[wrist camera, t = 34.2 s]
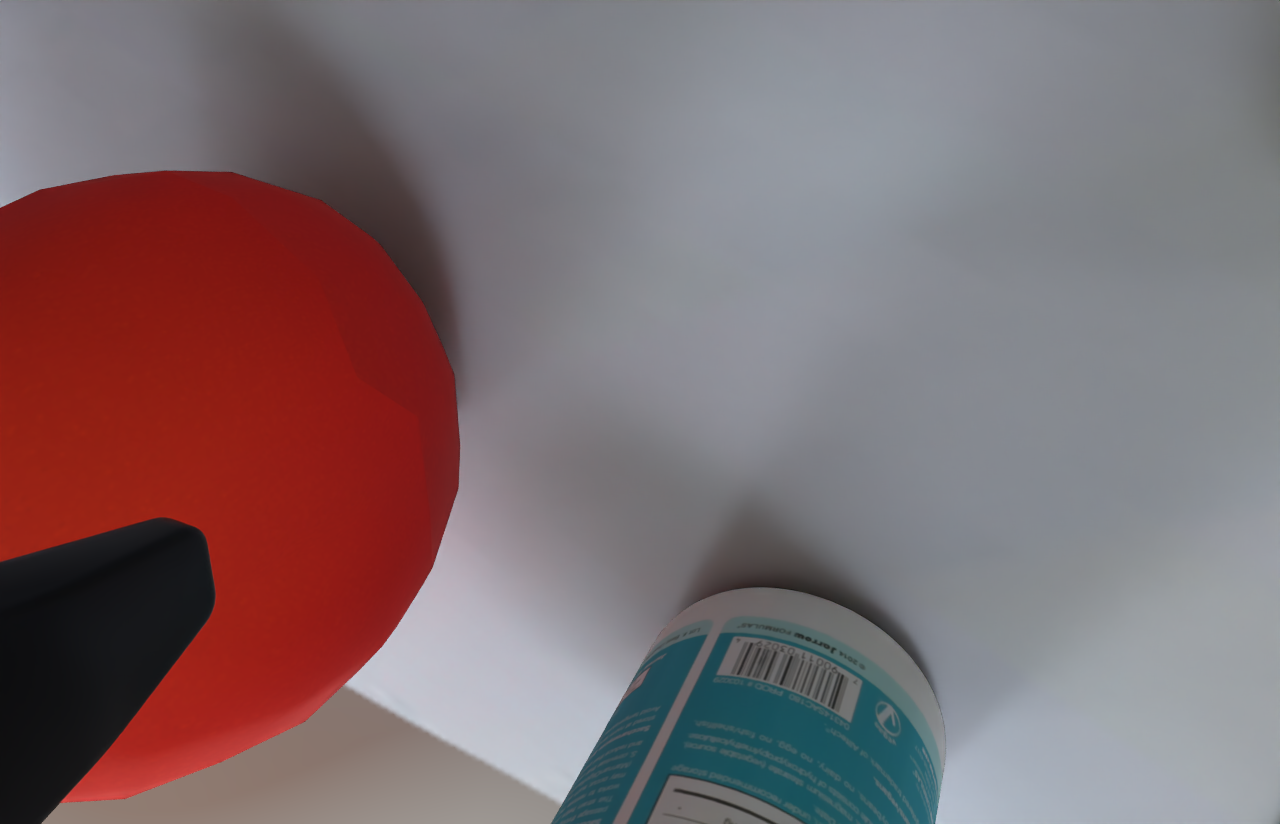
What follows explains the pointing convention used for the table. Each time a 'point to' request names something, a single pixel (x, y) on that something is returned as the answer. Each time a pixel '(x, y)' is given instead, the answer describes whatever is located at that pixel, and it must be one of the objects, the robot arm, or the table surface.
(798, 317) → the table surface
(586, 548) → the table surface
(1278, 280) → the table surface
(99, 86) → the table surface
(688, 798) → the pill bottle
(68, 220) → the tomato
